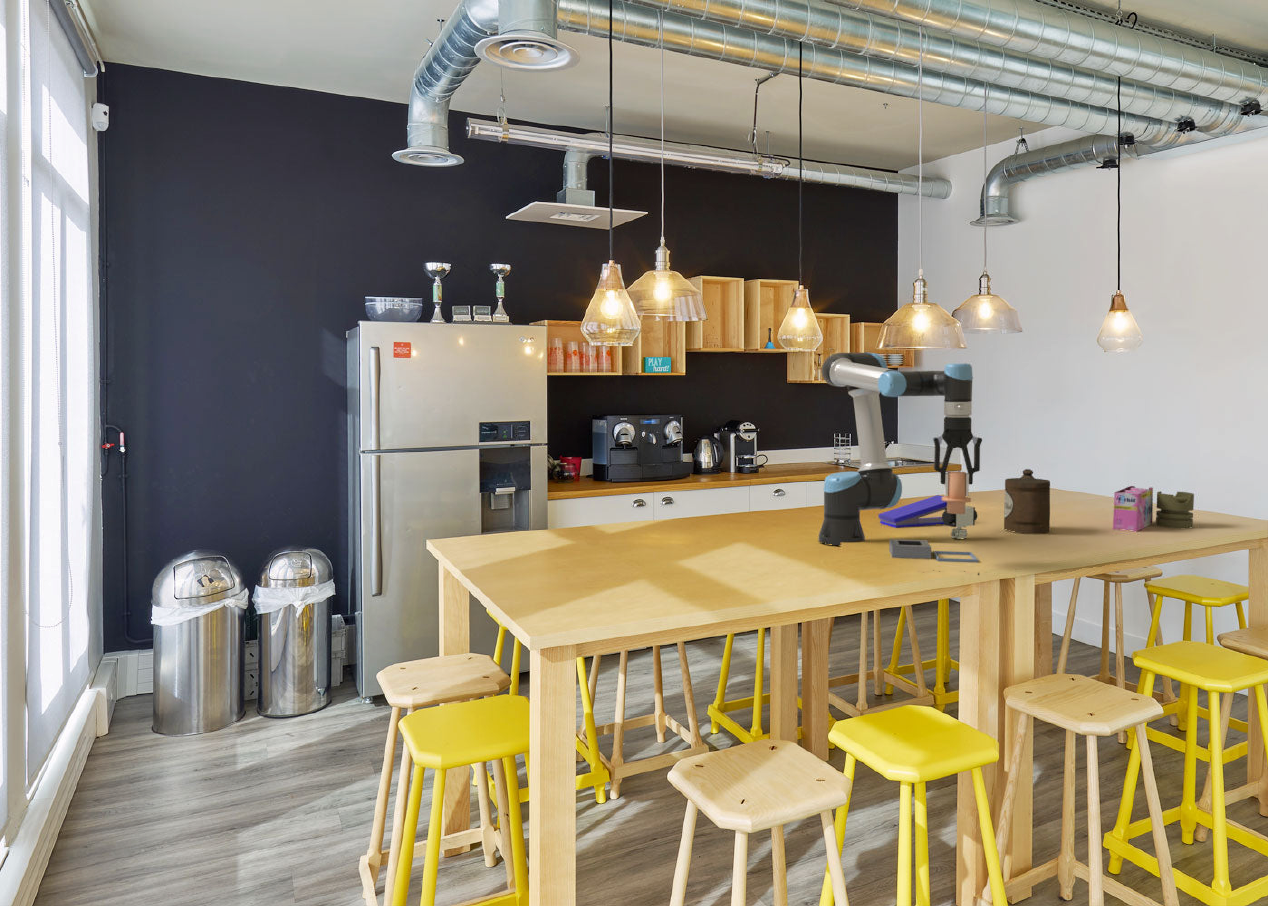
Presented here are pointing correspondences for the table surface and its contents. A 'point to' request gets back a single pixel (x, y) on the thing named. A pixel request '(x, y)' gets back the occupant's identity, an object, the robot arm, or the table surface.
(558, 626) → the table surface
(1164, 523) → the piston
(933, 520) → the stapler
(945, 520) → the pneumatic valve
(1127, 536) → the table surface
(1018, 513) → the wooden container
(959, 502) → the flanged copper cylinder
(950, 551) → the blue-grey square frame
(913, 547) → the block
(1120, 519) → the gum box
